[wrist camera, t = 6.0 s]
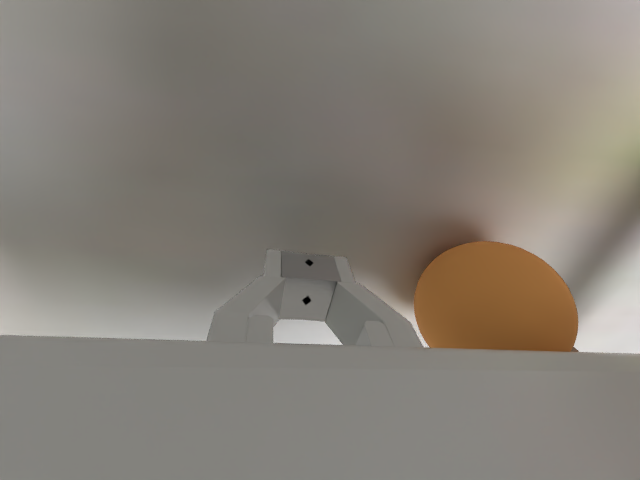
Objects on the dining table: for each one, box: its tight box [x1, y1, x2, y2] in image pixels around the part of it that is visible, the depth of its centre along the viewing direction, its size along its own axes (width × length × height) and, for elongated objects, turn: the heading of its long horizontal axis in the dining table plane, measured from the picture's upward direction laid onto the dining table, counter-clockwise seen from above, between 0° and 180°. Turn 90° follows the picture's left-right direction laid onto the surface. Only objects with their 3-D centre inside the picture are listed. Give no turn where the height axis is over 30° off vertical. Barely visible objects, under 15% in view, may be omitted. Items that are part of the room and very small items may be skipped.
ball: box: [414, 241, 578, 352], centre depth 11 cm, size 6×6×6 cm
